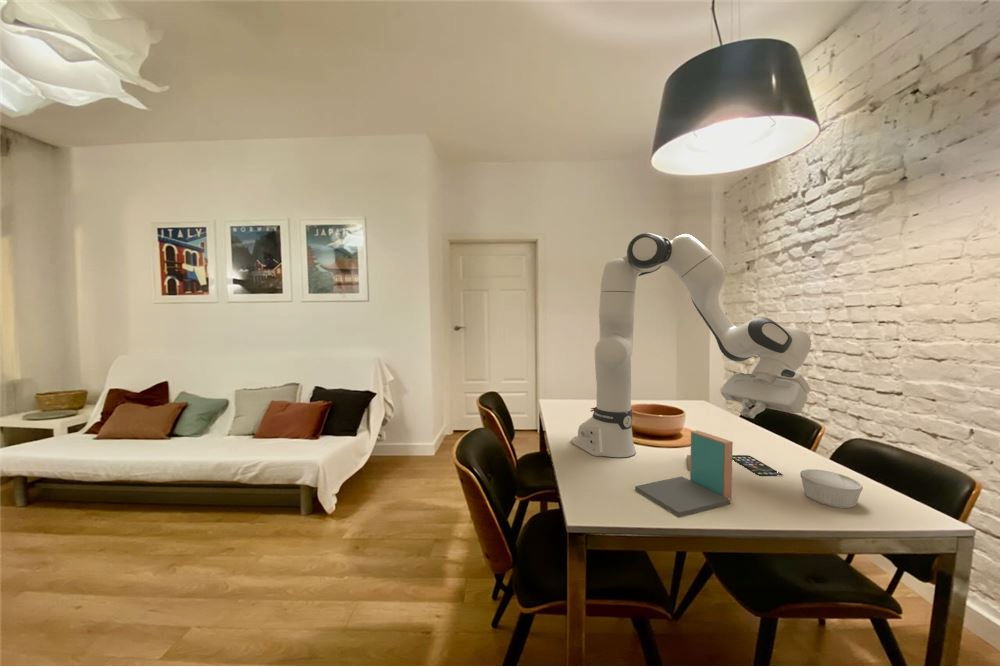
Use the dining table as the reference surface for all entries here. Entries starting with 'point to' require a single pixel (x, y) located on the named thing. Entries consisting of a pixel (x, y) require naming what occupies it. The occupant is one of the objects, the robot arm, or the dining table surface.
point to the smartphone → (755, 465)
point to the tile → (711, 462)
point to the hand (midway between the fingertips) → (746, 415)
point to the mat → (682, 496)
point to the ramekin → (831, 488)
